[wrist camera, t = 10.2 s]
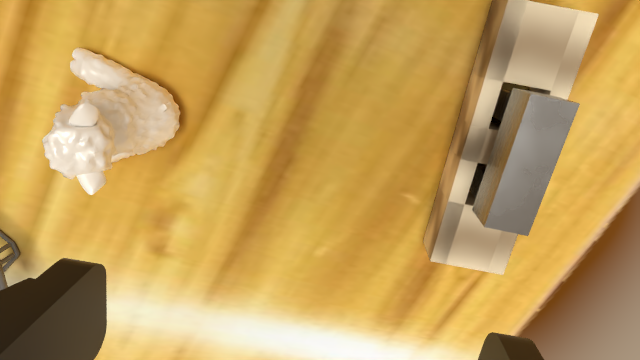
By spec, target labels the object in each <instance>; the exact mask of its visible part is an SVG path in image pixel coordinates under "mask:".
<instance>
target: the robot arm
mask: <svg viewBox="0 0 640 360" xmlns="http://www.w3.org/2000/svg"><path fill="white" fill-rule="evenodd" d="M106 325H107V319H106V270H105V267H104V266H103V265H102V264H97V263H91V262H85V261H79V260H73V259H68V258H63V259H60V260H59V261H57V262H56V263H55V264H54V265H52V266H51V267H50V268H49V269H47V270H46V271H45V272H44V273H42V274H41V275H40V276H39V277H38V278H36V279H33V278H28V279H26V280H23V281H21V282H19V283H16V284H14V285H12V286H10V287H7V288H5V289H3V290H0V360H94V359H95V357H96V356H97V354H98V352H99V350H100V348H101V346H102V343H103V340H104V337H105V333H106ZM478 360H544V359H543V357H542V356H541V354H540V352H539V351H538V349H537V347H536V346H535V344H534V343H533V341H532V340H530V339H528V338H522V337H516V336H510V335H504V334H499V333H493V332H492V333H490V334H488V336H487V337H486V339H485V341H484V344H483V347H482V350H481V353H480V355H479V358H478Z"/></svg>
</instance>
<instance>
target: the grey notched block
mask: <svg viewBox="0 0 640 360" xmlns="http://www.w3.org/2000/svg"><path fill="white" fill-rule="evenodd" d="M578 107H579V103H576V102H573V101H569V100H566V99H563V98H560V97H556V96H551V95H547V94H542V93H537V92H532V91H527V90H522V89H517V88H513V89H512V91H509V90H504V89H501V90H500V94H499V97H498V100H497V103H496V106H495V109H494V113H493V117H494V118H496V119H498V120H500V121H501V125H500V128H499V131H498V134H497V137H496V140H495V143H494V146H493V149H492V152H491V155H490V158H489V161H488V164H482V163H478V164H477V167H476V170H475V173H474V176H473V180H472V183H471V186H470V189H469V190H470V192H471V193H472V194H473V195H474V197H475V198H476V199H475V202H474V205H473V208H472V210H473V212H474V213H475V215H476V216H477V218H478V219H479V221H480V222H481V223H482V225H483V226H484V227H486V228H491V229H496V230H501V231H506V232H511V233H516V234H521V235H526V236H528V235H529V232H530V229H531V227H532V224H533V222H534V219H535V217H536V214H537V212H538V209H539V206H540V204H541V201H542V199H543V196H544V194H545V191H546V189H547V186H548V183H549V181H550V178H551V176H552V173H553V171H554V168H555V166H556V163H557V161H558V158H559V155H560V153H561V150H562V148H563V145H564V143H565V140H566V138H567V135H568V132H569V130H570V127H571V125H572V122H573V120H574V117H575V115H576V112H577V109H578Z"/></svg>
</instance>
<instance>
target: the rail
mask: <svg viewBox="0 0 640 360" xmlns="http://www.w3.org/2000/svg"><path fill="white" fill-rule="evenodd" d="M598 15H599V14H596V13H590V12H585V11H580V10H575V9H569V8H564V7H559V6H554V5H548V4H543V3H538V2H533V1H527V0H493V1H492V4H491V7H490V11H489V14H488V18H487V21H486V24H485V28H484V31H483V35H482V38H481V42H480V45H479V49H478V52H477V56H476V59H475V63H474V66H473V70H472V73H471V77H470V80H469V84H468V87H467V90H466V94H465V97H464V101H463V104H462V108H461V111H460V115H459V118H458V122H457V125H456V129H455V132H454V136H453V139H452V143H451V146H450V149H449V153H448V156H447V160H446V163H445V167H444V170H443V174H442V177H441V181H440V184H439V188H438V191H437V195H436V198H435V202H434V205H433V209H432V212H431V215H430V219H429V222H428V226H427V229H426V233H425V236H424V240H423V243H424V245H425V248H426V251H427V254H428V257H429V259H430V261H432V262H437V263H443V264H448V265H453V266H459V267H464V268H469V269H474V270H480V271H485V272H490V273H496V274H501V275H503V274H504V271H505V268H506V266H507V263H508V260H509V258H510V255H511V252H512V249H513V247H514V244H515V241H516V238H517V236H518V234H516V233H511V232H506V231H501V230H496V229H491V228H486V227H484V226H483V225H482V223H481V222H480V221H479V219H478V218H477V216H476V215H475V213H474V212H473V210H472V208H473V205H474V202H475V199H476V198H475V197H474V195H473V194H472V193H471V192H469V189H470V186H471V183H472V180H473V176H474V173H475V170H476V167H477V164H478V163H482V164H488V161H489V158H490V155H491V152H492V149H493V146H494V143H495V140H496V137H497V134H498V131H499V128H500V125H501V124H496V123H491V119H492V116H493V113H494V109H495V106H496V103H497V100H498V97H499V94H500V90H501V87H502V84H503V82H508V83H513V84H518V85H524V86H529V87H530V90H529V91H532V92H537V93H542V94H547V95H551V96H556V97H560V98H563V99H566V100H567V99H568V97H569V94H570V91H571V89H572V86H573V83H574V80H575V78H576V75H577V72H578V69H579V67H580V64H581V61H582V59H583V56H584V53H585V50H586V48H587V45H588V42H589V40H590V37H591V34H592V31H593V29H594V26H595V23H596V20H597V18H598Z"/></svg>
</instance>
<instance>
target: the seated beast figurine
mask: <svg viewBox="0 0 640 360" xmlns="http://www.w3.org/2000/svg"><path fill="white" fill-rule="evenodd" d="M72 57H73V58H74V59H75V60H72V61H71V63H70V69H71V71H72V72H73V73H74V74H75V75H76V76H77V77H79V78H80V79H82V80H84V81H86V83H87V84H89V85H95V86H96V87H98V88H102V89H101V90H99V91H95V92H82V94H81V96H82V99H81V100H80V101H79V102H78V104H77V105H74V106H67V105H65V104H62V105H61V111H60V112H57V113H56V114H55V116H56V117H55V119H54V120H53V123H54V125H53V127H52V130H51V131H50V132H49V134H47V135H46V136H45V137H44V138H43V140H42V142H43V144H44V145H43V146H44V149H45V153H44V154H45V157H46V158H48V159H49V160H50V168H52V169H55V170H57V171H59V172H60V173H62V175H63V176H64V177H66V178H69V179H73V178H74V177H76V176H77V178H78V180H79V182H80V184H81V186H82V187H83V189H84V190H85V191H86V192H87V193H88V194H89V195H93V194H94V193H95V192H97V191H98V190H99V189H100V188H101V187H102V186H104V185H105V184H106V177H105V175H104V173H103V171H105V170H107V169H111V168H112V162H117V161H119V160H120V159H122V158H128V157H130V156H134V155H135V154H138V155H141V154H144V153H147V152H149V151H150V150H156V149H157V147H159V146H162V147H164V145H165V143H166V142H167V141H168V140H169V139H172V138H173V137H174V136H175V133H176V131H178V129H179V126H180V125H179V115H180V114H181V113H180V111H179V106H178V104H176V103H175V102H174V100H173V96H172V94H170V93H169V92H168V91H167V89H165V88H163V87H160V86H159V85H158V84H157V83H155V82H152V81H150V80H149V79H148V78H145V77H143V76H142V75H139V74H138V73H135V74H134V73H133V72H131V71H130V70H129V69H127V68H125V67H122V65H121V64H118V63H116V62H114V61H113V60H108V59H106V58H105V57H104V56H103V55H101V54H94V53H93V52H91V51H89V50H86V49H83V48H80V47H79V48H76V49H75V50H74V51H73V53H72Z"/></svg>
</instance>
